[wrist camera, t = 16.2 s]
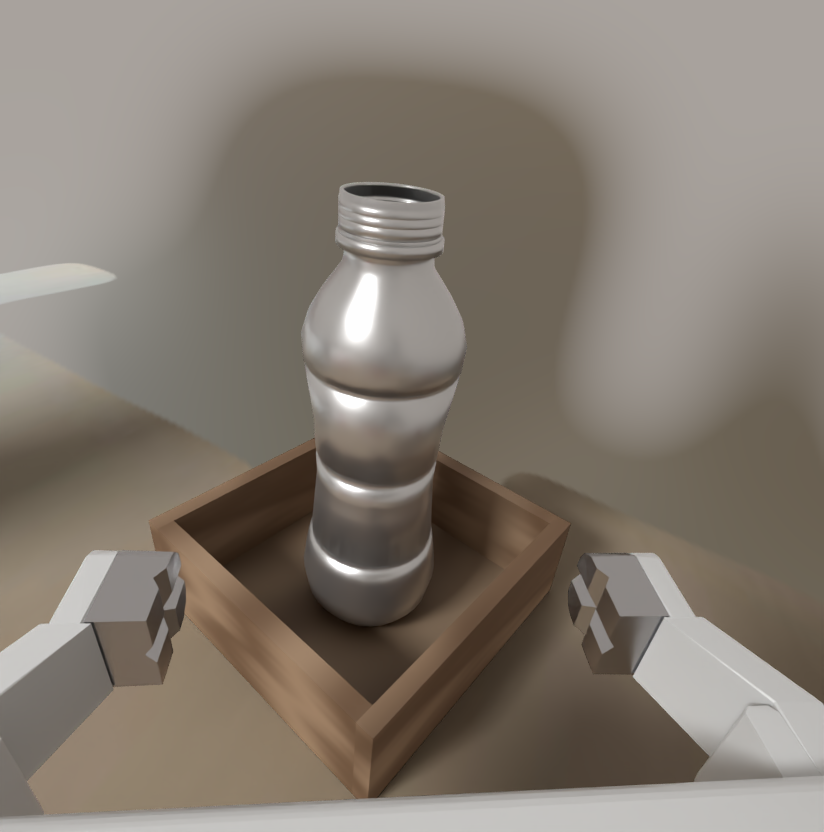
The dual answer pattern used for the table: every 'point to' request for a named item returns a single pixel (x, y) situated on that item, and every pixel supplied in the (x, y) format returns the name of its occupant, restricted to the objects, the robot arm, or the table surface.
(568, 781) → the table surface
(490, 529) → the box
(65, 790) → the table surface
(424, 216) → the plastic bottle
